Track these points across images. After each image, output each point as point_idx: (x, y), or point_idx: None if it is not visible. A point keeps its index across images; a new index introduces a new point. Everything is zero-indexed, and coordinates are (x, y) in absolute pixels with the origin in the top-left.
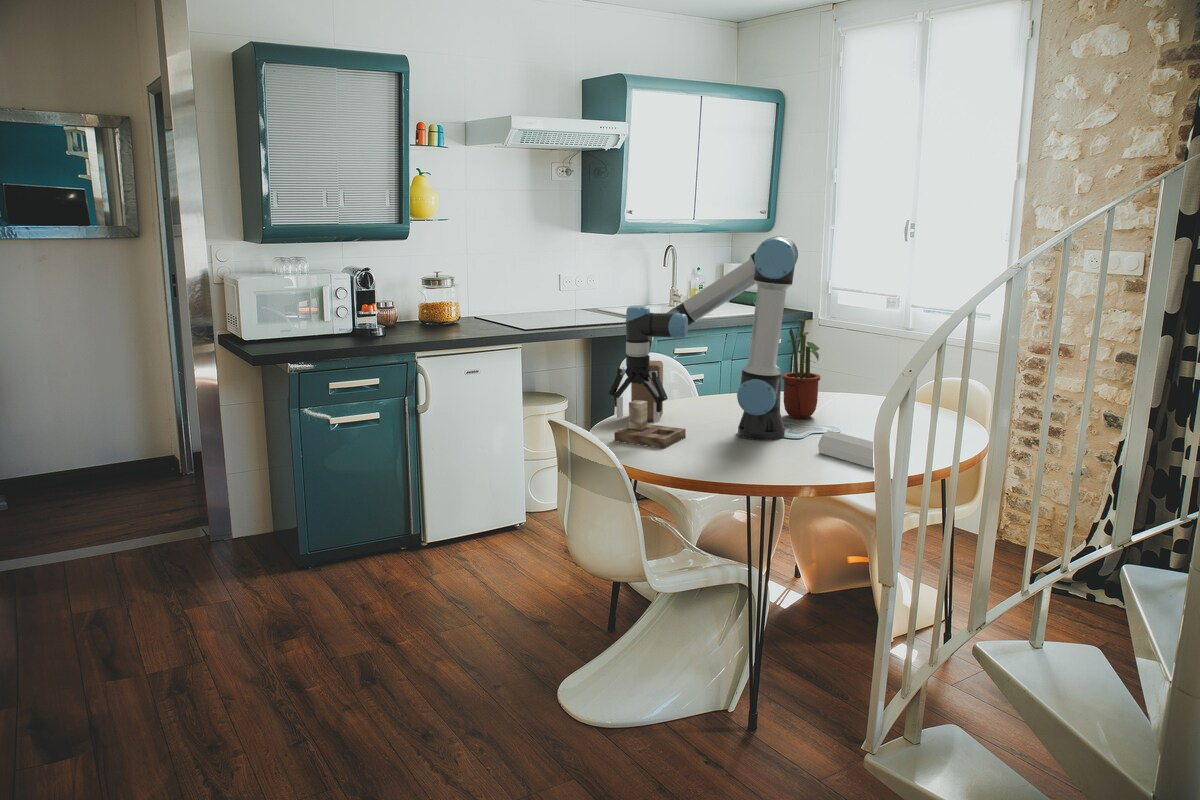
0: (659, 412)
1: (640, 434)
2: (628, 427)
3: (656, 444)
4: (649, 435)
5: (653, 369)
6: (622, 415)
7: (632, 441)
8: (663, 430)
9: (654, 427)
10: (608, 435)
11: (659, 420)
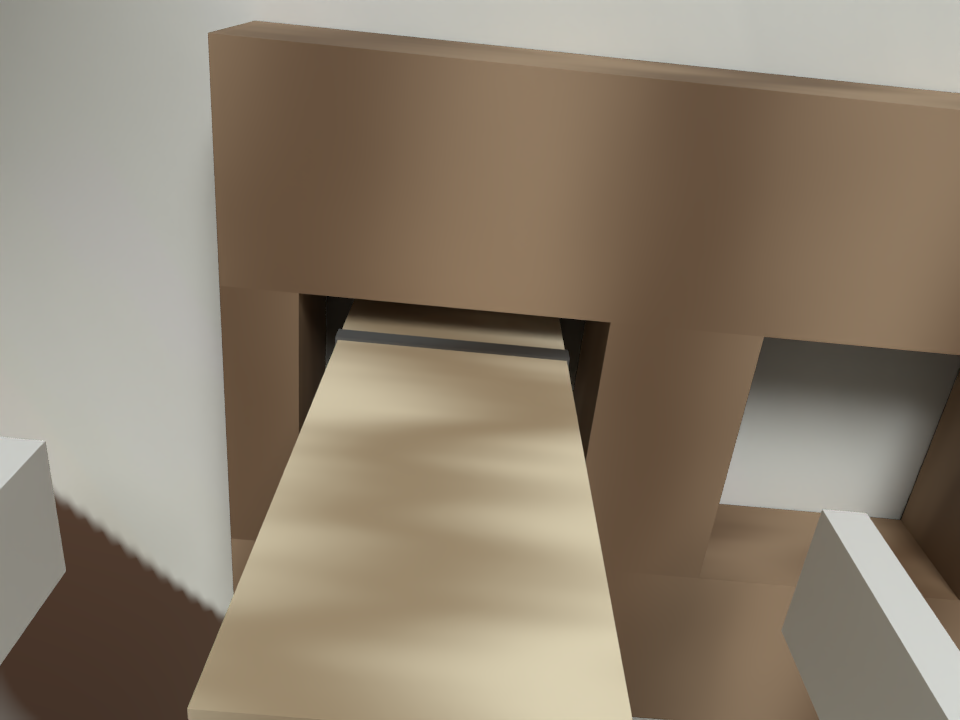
0: (946, 635)
1: None
2: (266, 417)
3: None
4: (726, 669)
5: None
6: (39, 462)
7: None
8: (849, 341)
9: (663, 260)
10: (36, 401)
11: (869, 521)
